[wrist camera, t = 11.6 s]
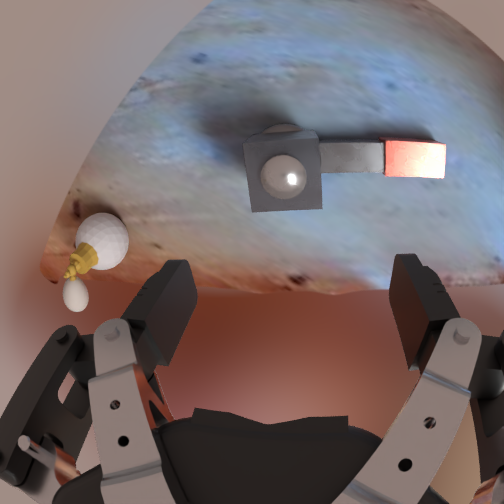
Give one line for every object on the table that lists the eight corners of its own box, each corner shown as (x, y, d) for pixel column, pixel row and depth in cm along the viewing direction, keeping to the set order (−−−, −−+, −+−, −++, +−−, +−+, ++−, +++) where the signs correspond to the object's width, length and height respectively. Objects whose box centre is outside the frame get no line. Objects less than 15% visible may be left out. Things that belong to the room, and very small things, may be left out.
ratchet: (435, 125, 23) (460, 133, 18) (433, 185, 26) (454, 203, 22) (248, 126, 27) (237, 132, 22) (256, 189, 30) (248, 208, 26)
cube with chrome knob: (313, 129, 24) (318, 138, 18) (317, 186, 26) (322, 210, 21) (253, 134, 25) (241, 144, 19) (260, 189, 27) (251, 214, 22)
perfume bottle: (129, 202, 33) (71, 249, 23) (147, 265, 38) (105, 323, 28) (89, 207, 35) (32, 250, 24) (108, 265, 39) (65, 315, 29)
